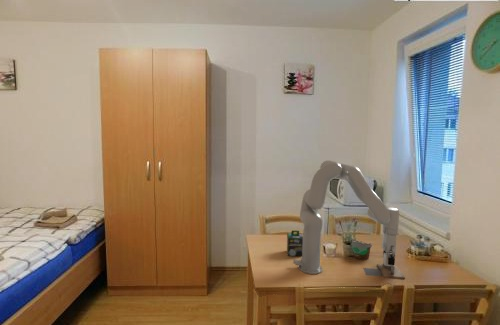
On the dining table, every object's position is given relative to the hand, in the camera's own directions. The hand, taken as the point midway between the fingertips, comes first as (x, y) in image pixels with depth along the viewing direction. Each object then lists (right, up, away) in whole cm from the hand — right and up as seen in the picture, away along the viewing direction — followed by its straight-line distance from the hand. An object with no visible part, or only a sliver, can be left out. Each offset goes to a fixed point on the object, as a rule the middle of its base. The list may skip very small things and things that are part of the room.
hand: (388, 261), depth 169 cm
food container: (-11, -3, +15) cm, 19 cm away
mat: (-10, -5, -4) cm, 12 cm away
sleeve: (0, -3, 0) cm, 3 cm away
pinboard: (-1, -5, -4) cm, 6 cm away
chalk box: (-48, -2, +20) cm, 52 cm away
